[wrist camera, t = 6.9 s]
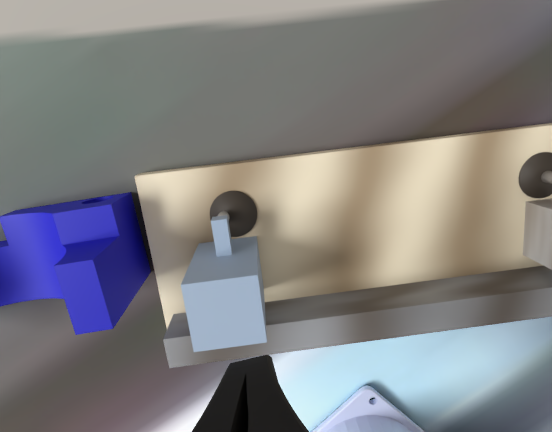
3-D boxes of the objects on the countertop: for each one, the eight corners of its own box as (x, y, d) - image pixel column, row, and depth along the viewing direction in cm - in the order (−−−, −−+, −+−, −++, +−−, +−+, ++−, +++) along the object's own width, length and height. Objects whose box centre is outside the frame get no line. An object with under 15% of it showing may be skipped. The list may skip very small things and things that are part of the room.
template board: (558, 122, 20) (681, 124, 14) (545, 294, 23) (645, 355, 17) (140, 173, 20) (92, 197, 14) (175, 343, 22) (148, 424, 16)
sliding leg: (252, 204, 19) (251, 233, 14) (263, 288, 20) (266, 342, 16) (192, 211, 19) (172, 243, 14) (208, 296, 20) (193, 352, 16)
